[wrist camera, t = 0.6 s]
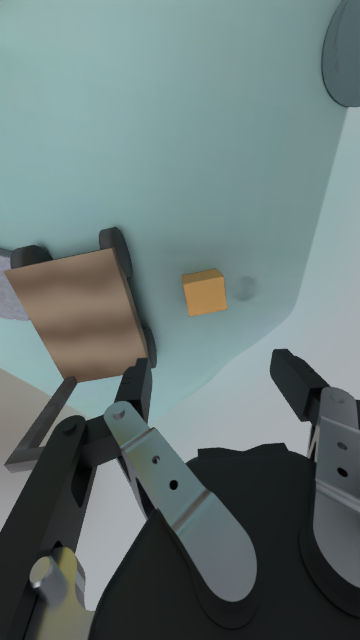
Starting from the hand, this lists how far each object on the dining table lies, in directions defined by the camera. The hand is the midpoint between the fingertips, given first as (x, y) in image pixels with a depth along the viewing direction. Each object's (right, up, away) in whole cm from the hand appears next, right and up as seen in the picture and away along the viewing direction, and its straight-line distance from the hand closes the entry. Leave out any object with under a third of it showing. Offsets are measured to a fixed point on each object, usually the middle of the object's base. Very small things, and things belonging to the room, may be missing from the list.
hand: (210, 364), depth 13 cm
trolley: (-14, +5, +18) cm, 23 cm away
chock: (+1, +8, +17) cm, 19 cm away
